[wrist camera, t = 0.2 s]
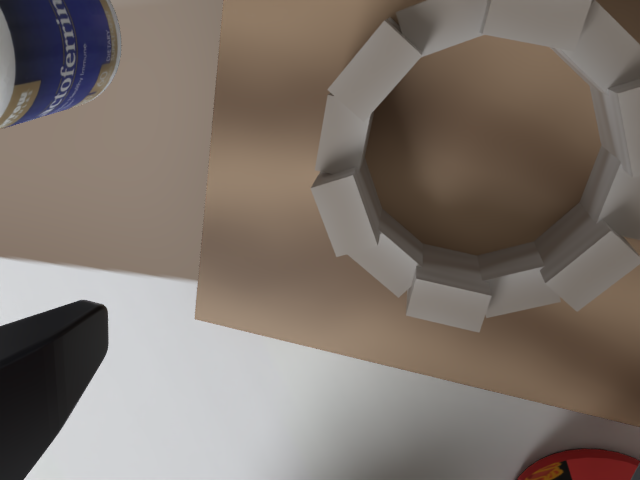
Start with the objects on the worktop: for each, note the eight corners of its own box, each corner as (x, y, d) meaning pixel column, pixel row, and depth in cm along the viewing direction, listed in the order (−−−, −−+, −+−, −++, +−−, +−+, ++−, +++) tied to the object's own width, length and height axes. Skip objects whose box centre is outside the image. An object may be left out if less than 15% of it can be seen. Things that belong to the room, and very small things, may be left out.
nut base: (638, 410, 25) (679, 488, 21) (203, 305, 27) (165, 360, 23) (908, -115, 17) (1060, -151, 13) (254, -218, 18) (208, -278, 14)
